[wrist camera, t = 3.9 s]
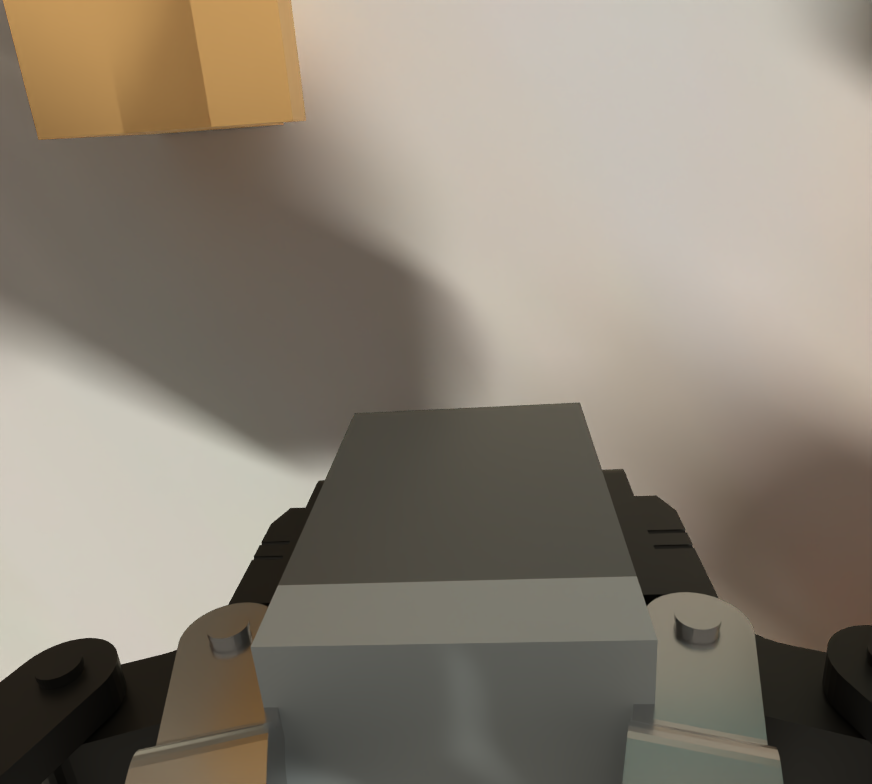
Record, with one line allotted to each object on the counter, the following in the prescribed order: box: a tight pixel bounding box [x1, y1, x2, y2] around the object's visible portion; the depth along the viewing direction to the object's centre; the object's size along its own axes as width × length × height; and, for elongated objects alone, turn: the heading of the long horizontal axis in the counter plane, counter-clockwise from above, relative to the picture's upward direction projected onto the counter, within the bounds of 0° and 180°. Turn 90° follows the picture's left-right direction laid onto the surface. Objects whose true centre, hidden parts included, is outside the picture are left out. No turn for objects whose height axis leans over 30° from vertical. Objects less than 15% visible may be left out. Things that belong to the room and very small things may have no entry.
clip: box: [3, 0, 306, 140], centre depth 11 cm, size 4×3×4 cm
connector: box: [251, 403, 658, 784], centre depth 10 cm, size 4×4×6 cm
